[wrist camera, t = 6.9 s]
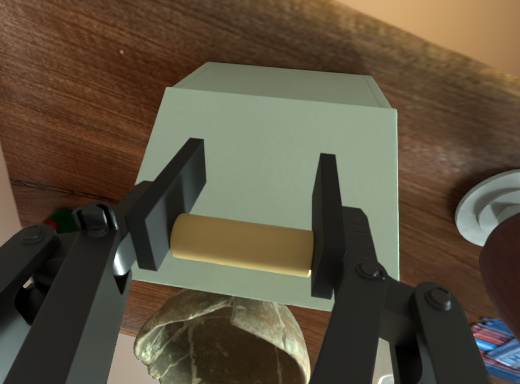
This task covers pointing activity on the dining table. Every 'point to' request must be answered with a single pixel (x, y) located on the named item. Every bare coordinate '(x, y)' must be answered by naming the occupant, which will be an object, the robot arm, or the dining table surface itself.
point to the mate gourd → (496, 240)
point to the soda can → (61, 221)
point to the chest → (286, 84)
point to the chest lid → (269, 189)
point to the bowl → (222, 341)
